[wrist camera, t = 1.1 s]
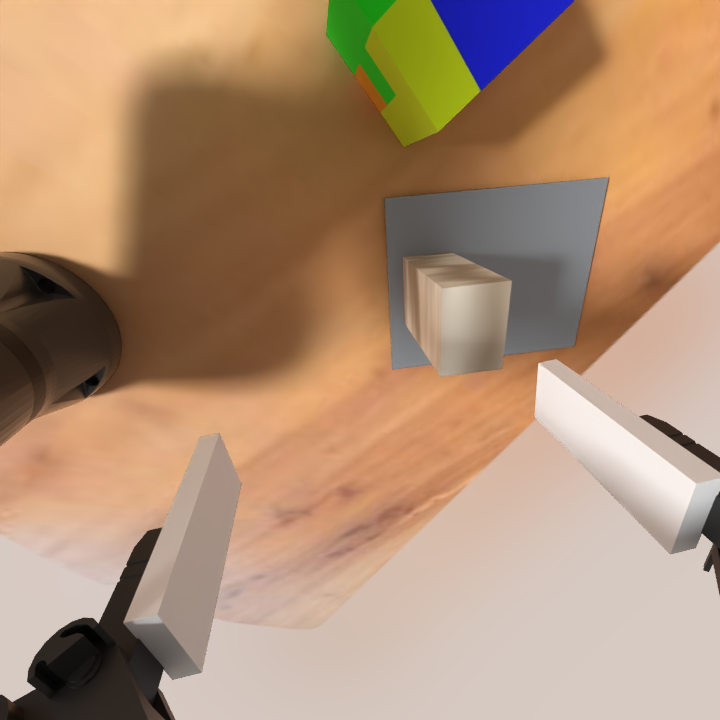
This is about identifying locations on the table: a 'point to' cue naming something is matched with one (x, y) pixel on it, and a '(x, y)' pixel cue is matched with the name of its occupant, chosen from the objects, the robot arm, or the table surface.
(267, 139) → the table surface
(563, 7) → the puzzle toy
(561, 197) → the slate mat
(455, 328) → the birch block
